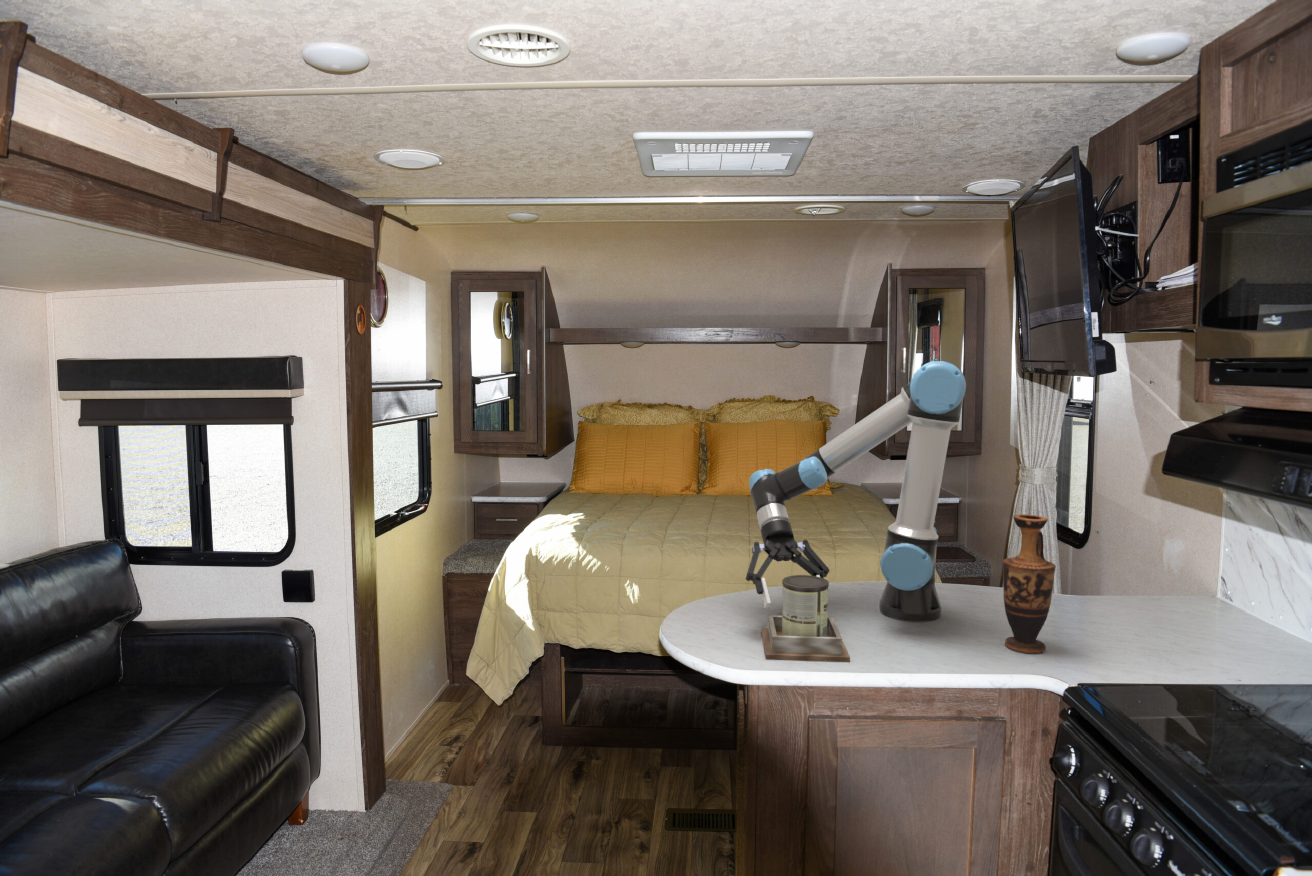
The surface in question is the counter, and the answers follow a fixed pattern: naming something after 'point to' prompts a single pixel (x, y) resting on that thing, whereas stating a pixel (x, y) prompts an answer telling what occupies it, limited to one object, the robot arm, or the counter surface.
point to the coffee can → (805, 606)
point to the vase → (1028, 587)
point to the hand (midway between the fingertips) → (795, 604)
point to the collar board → (803, 644)
